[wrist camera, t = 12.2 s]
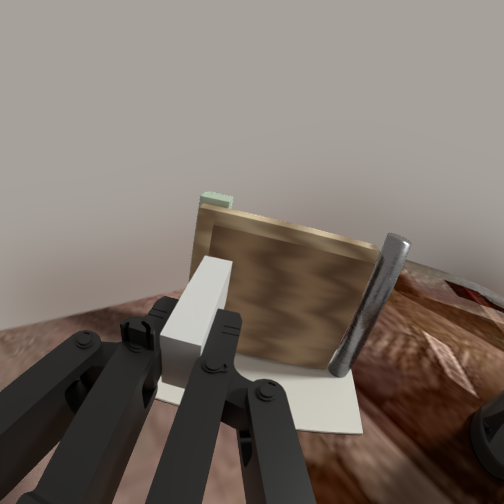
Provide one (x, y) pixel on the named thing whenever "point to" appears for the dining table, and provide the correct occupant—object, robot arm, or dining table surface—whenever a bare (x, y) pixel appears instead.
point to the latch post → (213, 200)
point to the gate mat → (298, 394)
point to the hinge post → (371, 303)
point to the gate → (285, 282)
